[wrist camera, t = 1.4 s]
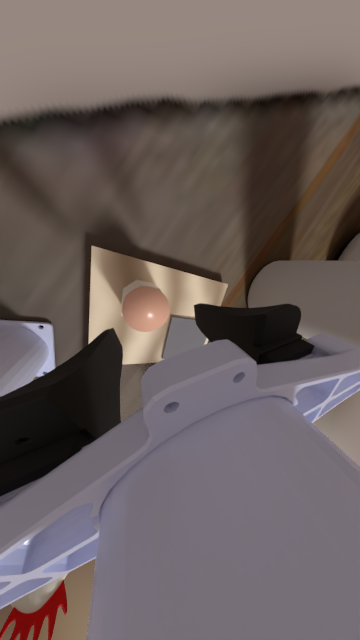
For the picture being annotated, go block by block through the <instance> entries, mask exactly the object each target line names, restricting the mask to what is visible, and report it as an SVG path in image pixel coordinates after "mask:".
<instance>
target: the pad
mask: <svg viewBox="0 0 360 640" xmlns="http://www.w3.org/2000/svg"><path fill="white" fill-rule="evenodd" d="M205 340H206V336H205V335H204V334H203V333H202V332H201V331H200V329H199V328H198V326H197V325H196V321H195V319H190V318H181V317H172V316H171V321H170V325H169V329H168V333H167V337H166V341H165V345H164V350H163V354H162V359H166V358H169V357H172V356H175V355H178V354H180V353H183V352H186V351H189V350H191V349H194V348H197V347H200V346H203V345H204V343H205Z"/></svg>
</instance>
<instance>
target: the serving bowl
mask: <svg viewBox="0 0 360 640" xmlns="http://www.w3.org/2000/svg"><path fill="white" fill-rule="evenodd" d="M338 261H360V233H359V234H358V235H357V236H355V237H354V238H353V240H352V241H351V242H350V243H349V244H348V245H347V247H346V248H345V249H344V251H343V252H342V254H341V255H340V257H339V259H338Z"/></svg>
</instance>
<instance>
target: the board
mask: <svg viewBox="0 0 360 640" xmlns="http://www.w3.org/2000/svg"><path fill="white" fill-rule="evenodd" d="M135 280H141V281H145V282H150V283H153V284H154V285H155V286H157V287H158V288H159V289H160V290H161V291H162V293H163V294H164V295H165V296H166V298H167V299H168V301H169V305H170V313H169V317H168V319H167V321H166V322H165V323H164V324H163V325H162V326H161V327H160V328H158V329H156V330H154V331H150V332H140V331H137V330H134V329H133V328H131V327H130V326H129V325H128V324H127V323H126V322H125V320H124V318H123V316H122V315H121V302H122V293H123V288H125V287H126V286H128V285H129V284H131V283H132V282H134V281H135ZM227 286H228V284H225V283H221V282H218V281H214V280H211V279H207V278H204V277H200V276H197V275H193V274H190V273H186V272H183V271H179V270H176V269H172V268H169V267H165V266H161V265H158V264H154V263H151V262H147V261H144V260H140V259H137V258H133V257H130V256H126V255H123V254H119V253H116V252H112V251H109V250H105V249H102V248H98V247H95V246H92V250H91V281H90V312H89V342H88V344H89V343H91V342H92V341H93V340H94V339H95V338H96V337H97V336H98V335H100V334H101V333H102V332H103V331H105V330H107V329H111V328H114V330H115V332H116V334H117V336H118V338H119V341H120V343H121V345H122V347H123V361H122V364H139V363H157V362H159V361H161V360H164V359H162V354H163V350H164V345H165V341H166V337H167V333H168V329H169V325H170V321H171V316H172V317H181V318H190V319H195V312H194V305H196V304H199V303H203V304H210V305H216V306H220V305H221V303H222V300H223V297H224V294H225V291H226V289H227ZM207 342H208V339H207V337H206V340H205V343H204V345H205V344H207Z"/></svg>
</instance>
